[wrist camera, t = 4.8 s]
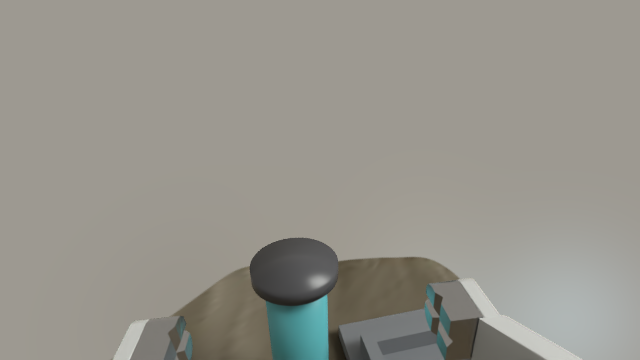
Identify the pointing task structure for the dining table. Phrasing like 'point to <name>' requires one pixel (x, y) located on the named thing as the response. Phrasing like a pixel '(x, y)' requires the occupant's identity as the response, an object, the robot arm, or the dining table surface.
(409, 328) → the board
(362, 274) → the dining table surface
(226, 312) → the dining table surface
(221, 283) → the dining table surface
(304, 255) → the teal and grey rod
